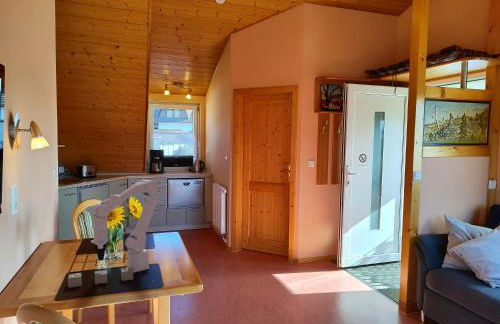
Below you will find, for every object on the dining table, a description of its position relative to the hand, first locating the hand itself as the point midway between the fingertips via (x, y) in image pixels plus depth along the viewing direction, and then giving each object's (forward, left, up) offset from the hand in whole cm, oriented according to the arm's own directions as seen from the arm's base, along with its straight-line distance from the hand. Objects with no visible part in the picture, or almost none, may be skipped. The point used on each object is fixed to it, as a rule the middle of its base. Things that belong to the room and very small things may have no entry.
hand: (100, 259), depth 165 cm
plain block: (+2, +4, -8) cm, 9 cm away
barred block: (-9, +8, -8) cm, 14 cm away
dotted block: (+11, 0, -8) cm, 14 cm away
